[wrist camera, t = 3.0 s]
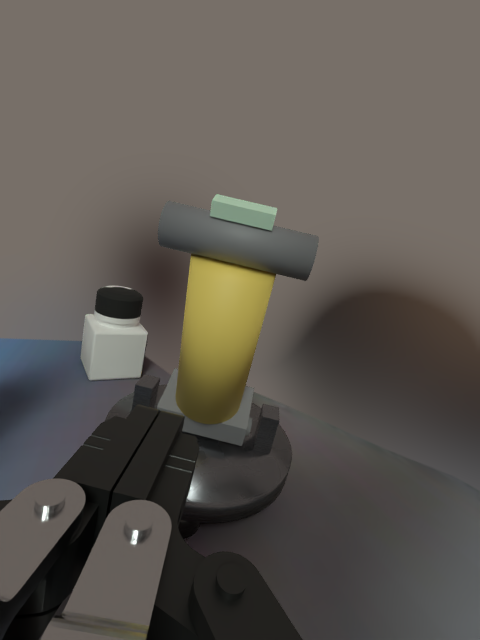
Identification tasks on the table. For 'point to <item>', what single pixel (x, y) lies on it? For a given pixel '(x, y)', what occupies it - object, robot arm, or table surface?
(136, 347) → the medicine bottle
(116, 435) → the robot arm
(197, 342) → the yellow mallet
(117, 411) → the dark grey round stand
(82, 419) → the table surface
